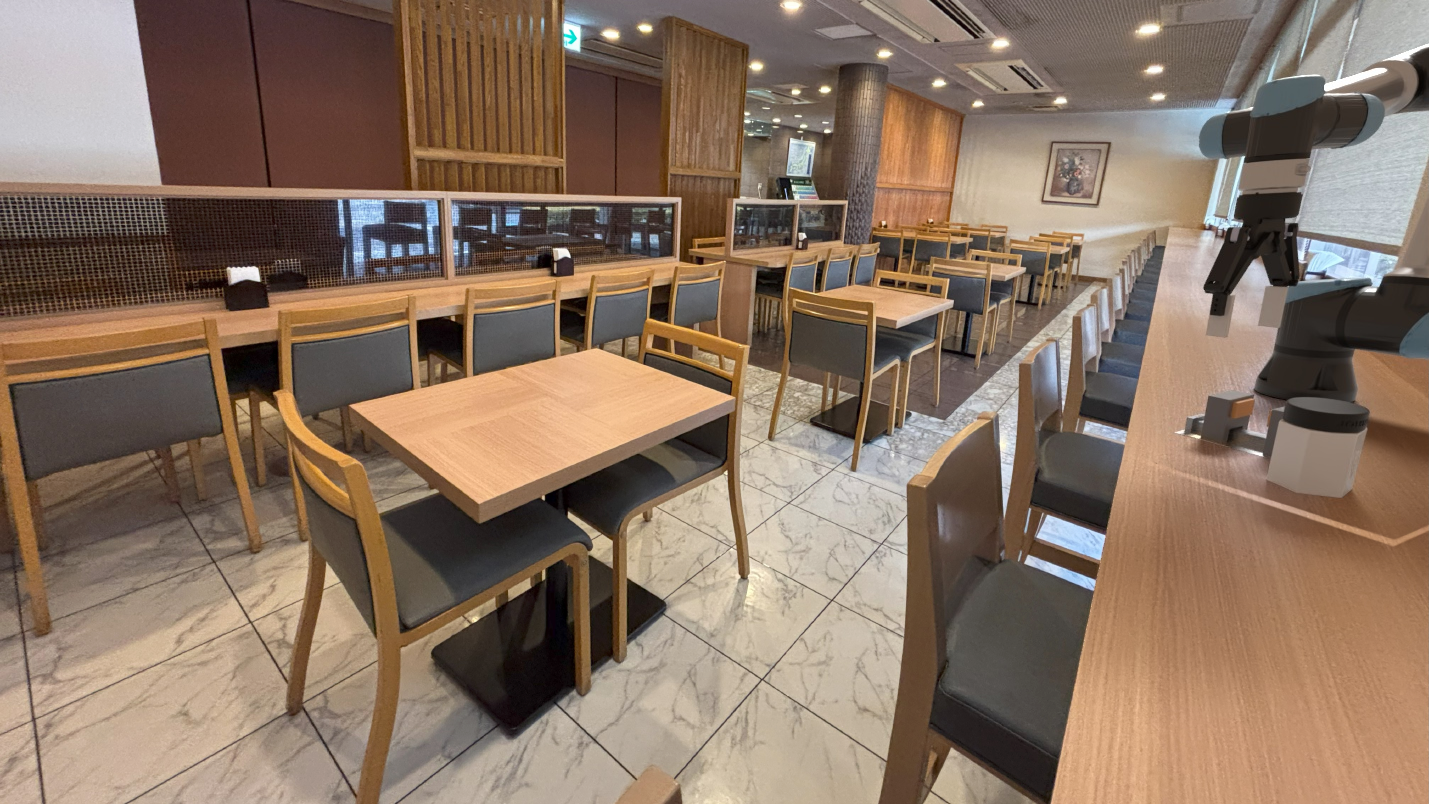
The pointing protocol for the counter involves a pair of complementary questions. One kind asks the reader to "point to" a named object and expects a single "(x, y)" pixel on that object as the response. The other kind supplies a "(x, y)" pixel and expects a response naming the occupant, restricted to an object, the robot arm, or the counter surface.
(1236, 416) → the block
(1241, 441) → the rail
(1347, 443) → the jar
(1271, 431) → the fixed finger
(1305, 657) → the counter surface
